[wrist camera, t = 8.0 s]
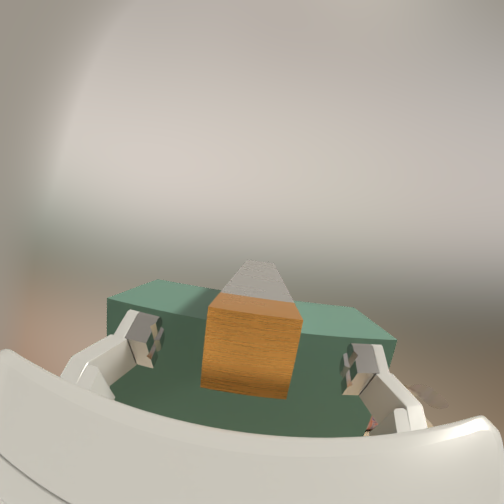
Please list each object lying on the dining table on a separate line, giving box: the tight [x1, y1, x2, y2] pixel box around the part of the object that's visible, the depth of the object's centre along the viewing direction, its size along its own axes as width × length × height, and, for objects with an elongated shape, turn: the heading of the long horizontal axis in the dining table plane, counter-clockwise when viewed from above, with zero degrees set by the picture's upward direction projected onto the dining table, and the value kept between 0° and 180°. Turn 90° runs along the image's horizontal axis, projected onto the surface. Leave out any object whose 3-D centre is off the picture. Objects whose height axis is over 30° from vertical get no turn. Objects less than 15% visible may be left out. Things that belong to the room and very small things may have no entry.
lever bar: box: [200, 260, 303, 399], centre depth 19 cm, size 22×3×3 cm, turn 178°
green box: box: [107, 280, 397, 438], centre depth 22 cm, size 10×20×26 cm, turn 88°
